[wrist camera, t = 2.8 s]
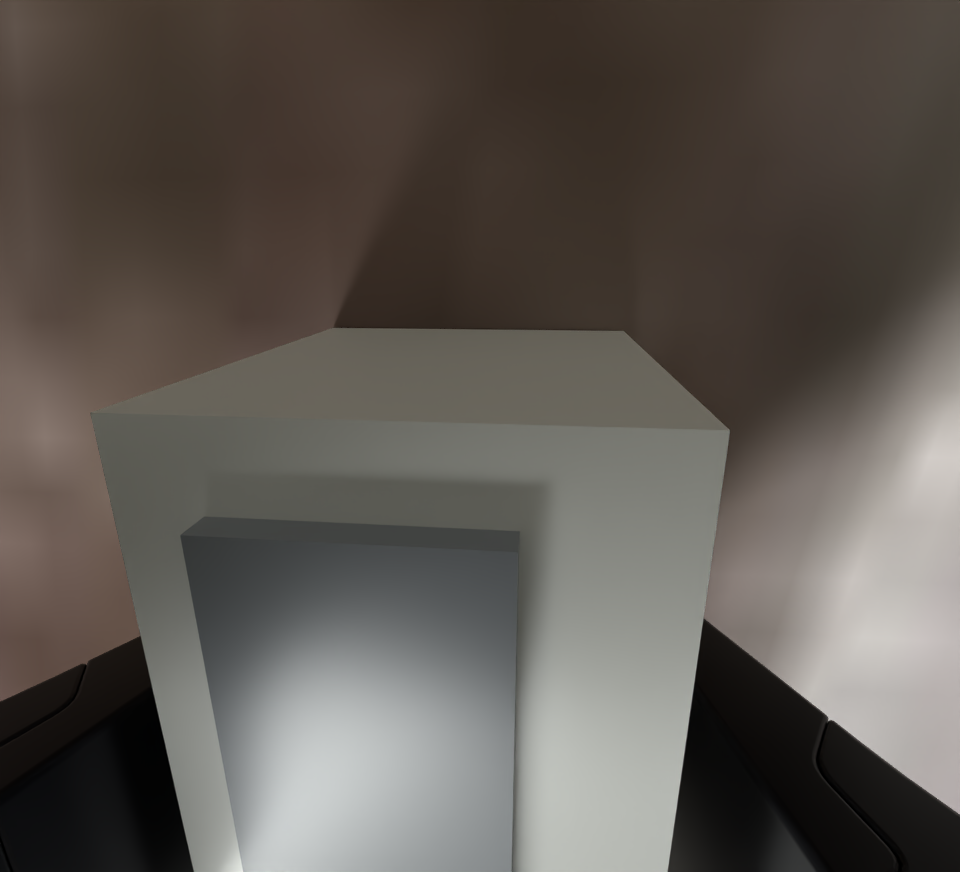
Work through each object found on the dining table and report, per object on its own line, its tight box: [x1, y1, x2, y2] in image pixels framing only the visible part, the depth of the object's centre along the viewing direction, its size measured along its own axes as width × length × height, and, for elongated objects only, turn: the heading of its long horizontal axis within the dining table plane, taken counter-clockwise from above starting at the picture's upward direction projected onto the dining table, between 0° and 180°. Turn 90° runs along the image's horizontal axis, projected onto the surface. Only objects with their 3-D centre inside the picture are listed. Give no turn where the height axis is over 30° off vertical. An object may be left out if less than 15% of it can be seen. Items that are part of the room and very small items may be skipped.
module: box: [90, 328, 730, 872], centre depth 7 cm, size 5×8×5 cm, turn 0°
